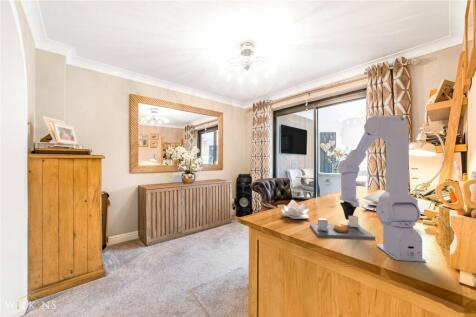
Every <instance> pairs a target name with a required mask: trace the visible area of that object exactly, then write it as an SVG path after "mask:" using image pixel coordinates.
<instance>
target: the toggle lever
mask: <svg viewBox="0 0 476 317" xmlns="http://www.w3.org/2000/svg"><path fill="white" fill-rule="evenodd" d="M347 225H349V226H350V227H361V226H360V225H361V224H359V216H358V215H353V216H349V220H348V222H347Z"/></svg>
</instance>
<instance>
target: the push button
mask: <svg viewBox="0 0 476 317" xmlns="http://www.w3.org/2000/svg"><path fill="white" fill-rule="evenodd" d="M333 225H334V230H335V231H338V232H347V226H346V225H347V224H343V223H334V224H333Z"/></svg>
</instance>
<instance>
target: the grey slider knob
mask: <svg viewBox="0 0 476 317" xmlns="http://www.w3.org/2000/svg"><path fill="white" fill-rule="evenodd" d="M328 223H329V222H328V219H326V218H318V219H317V224H318V226H317V229H318V230H319V231H329V228H328Z"/></svg>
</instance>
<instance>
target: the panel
mask: <svg viewBox="0 0 476 317" xmlns="http://www.w3.org/2000/svg"><path fill="white" fill-rule="evenodd" d="M345 225H346V226H347V232H338V231H335V230H334V224H328V228H329V231H319V230H318V229H317V226H318V223H309V227H310V229H311V230H312V232H313V233H314V234H315V236H316V237H317V238H330V239H331V238H333V239H335V238H336V239H350V240H351V239H352V240H353V239H354V240H357V239H358V240H376V236H375V235H373V234H372V233H370V232H369V231H368V230H366V229H365V228H363V227H361V226H360V227H350V226H349V225H348V224H345Z"/></svg>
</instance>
